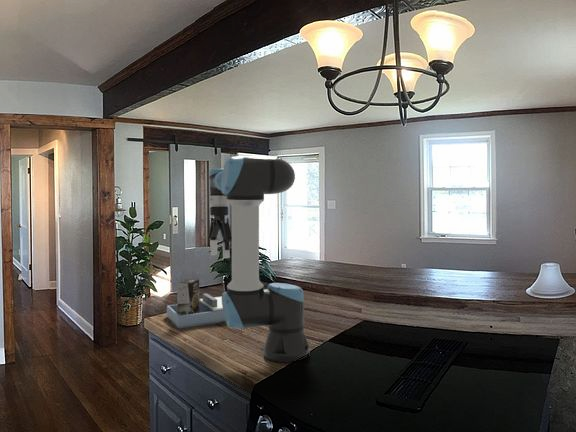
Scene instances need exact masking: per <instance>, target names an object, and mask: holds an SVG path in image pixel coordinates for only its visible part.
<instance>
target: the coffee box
mask: <svg viewBox="0 0 576 432" xmlns="http://www.w3.org/2000/svg"><path fill="white" fill-rule="evenodd" d="M176 286H177V294H176V295H177V298H176V299H177V306H178V314H179V315H180V316H182V315H189V314H196V313H200V307H199V302H200V279H197V278H195V279H193V278H191V279H190V278H189V279H184V280H181V281H178V282H177V285H176Z"/></svg>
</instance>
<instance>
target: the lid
mask: <svg viewBox="0 0 576 432" xmlns="http://www.w3.org/2000/svg"><path fill="white" fill-rule="evenodd" d="M199 302H202V303H203V304H205V305H206V306H208V307H209V308H211V309H212V310H213V311H217V310H223V307H222V296H215V297H213V296H212V295H211V294H208V293H206V292H205V293H202V298H199Z"/></svg>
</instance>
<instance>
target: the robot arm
mask: <svg viewBox="0 0 576 432" xmlns="http://www.w3.org/2000/svg"><path fill="white" fill-rule="evenodd" d="M295 173H296V172H295V171H294V168H293V167H292V165H291V164H290V163H289V162H287V161H286V160H283V159H282V158H279V157H271V156H270V157H269V156H268V157H265V156H245V155H241V156H231V157H228V158H227V159H226V161H225V162H224V164H223V168H212V169H210V170H209V178H208V179H209V198H208V200H209V202H210V203H209V205H210V207H209V209H210V210H209V215H210V216H212V217H210V224H209V231H208V239H209V240H210V256H218V235H219V231H220V234H221V237H222V241H221V242H222V259H230V257H231V281H230V282H229V283H228V284H227V285H226V291H224V292H222V293H221V297H222V307H223V312H224V317H225V320H226V322H225V323H226V325H227V326H228V327H229V328H230V329H234V330H235V329H236V330H237V329H242V330H244V329H248V328H257V327H265V326H267V327H268V333H267V336H266V339H265V343H264V346H263V357H264V358H265V359H267V360H269V361H272V362H273V361H274V362H276V363H278V362H279V363H293V362H292V361H295V360H297V359H299V358H301V357H303V356H305V355H307V354H308V353H309V354H310V345H309V343H308V339H307V337H306V333H305V326H304V325H305V297H304V290H303V289H302V287H301V286H298V285H295V284H290V283H284V282H283V283H282V282H272V283H269V284H268V286H267V288H264V283H262V282H261V281H260V205H261V204H262V203H263V202H264V200H265V195H274V194H281V193H284V192H286V191H288V190H289V189H290V188H292V186H293V185H294V183H295V180H296V174H295ZM229 204H230V205H231V227H230V221H229V217H226V216H229ZM230 243H231V244H230ZM230 245H231V248H230ZM230 249H231V250H230ZM230 251H231V253H230ZM230 255H231V256H230Z"/></svg>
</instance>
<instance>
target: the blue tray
mask: <svg viewBox="0 0 576 432" xmlns="http://www.w3.org/2000/svg"><path fill="white" fill-rule="evenodd" d="M199 307H200V313H196V314H189V315H182V316H180V315H179V314H178V306H177V304H170V305H166V318H167V317H168V318H169V319H170V320H171V323H172V324H173V325H174V326H175V327H176V328H177V329H179V330H180V329H181V330H182V329H186V328H187V329H188V328H192V327H193V328H194V327H200V326H207V325H212V324H220V323H226V320H225V317H224V312H223V310H217V311H213V310H212V309H211V308H209V307H208V306H206V305H205V304H203V303H202V302H200V301H199ZM168 318H167V319H168ZM169 319H168V320H169ZM170 320H169V321H170Z"/></svg>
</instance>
